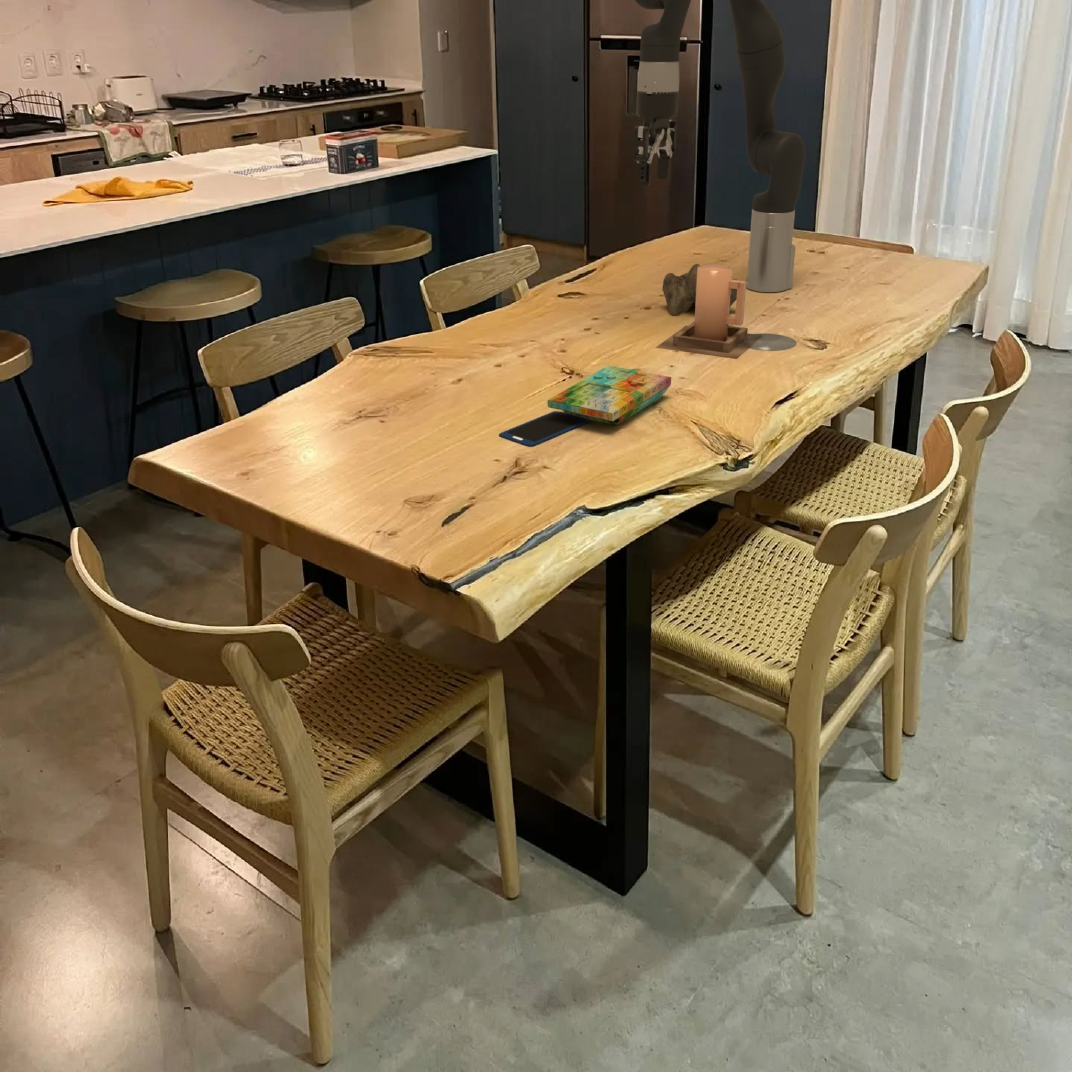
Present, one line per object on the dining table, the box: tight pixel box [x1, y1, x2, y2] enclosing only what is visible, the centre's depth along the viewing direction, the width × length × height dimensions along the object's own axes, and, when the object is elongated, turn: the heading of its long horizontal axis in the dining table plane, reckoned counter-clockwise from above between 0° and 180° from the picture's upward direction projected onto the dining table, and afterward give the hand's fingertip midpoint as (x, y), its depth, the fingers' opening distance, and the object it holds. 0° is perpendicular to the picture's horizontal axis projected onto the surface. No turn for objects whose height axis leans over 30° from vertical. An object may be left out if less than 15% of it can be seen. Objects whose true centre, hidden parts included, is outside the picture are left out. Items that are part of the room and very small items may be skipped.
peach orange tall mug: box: [693, 263, 747, 342], centre depth 202 cm, size 9×6×14 cm
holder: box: [655, 321, 761, 360], centre depth 206 cm, size 16×16×2 cm
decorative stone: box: [662, 263, 739, 317], centre depth 224 cm, size 16×11×15 cm
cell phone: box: [498, 410, 589, 448], centre depth 169 cm, size 7×14×1 cm, turn 137°
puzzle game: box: [547, 365, 672, 426], centre depth 176 cm, size 12×5×20 cm
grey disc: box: [740, 332, 798, 352], centre depth 205 cm, size 11×11×1 cm
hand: (653, 181), depth 202 cm, fingers open, 8 cm apart
